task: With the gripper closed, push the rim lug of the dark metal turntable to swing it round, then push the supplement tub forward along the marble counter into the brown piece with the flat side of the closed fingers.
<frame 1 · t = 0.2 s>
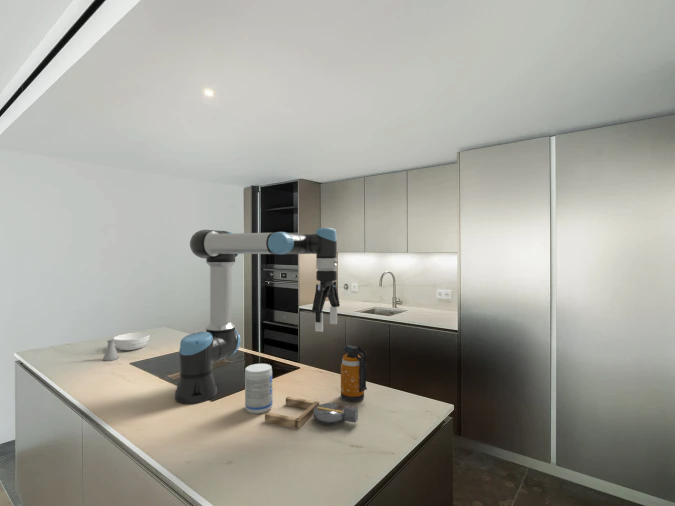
hand: (326, 327, 129), 28 cm above the counter, fingers open, 13 cm apart
canister: (354, 399, 133), on the counter
flask: (110, 359, 182), on the counter
turntable: (335, 411, 115), point 3 cm above the counter, hinge at 0.0°
brown piece: (290, 414, 120), on the counter
turntable base: (330, 420, 116), on the counter
bowl: (131, 349, 202), on the counter
supplement tub: (258, 409, 125), on the counter
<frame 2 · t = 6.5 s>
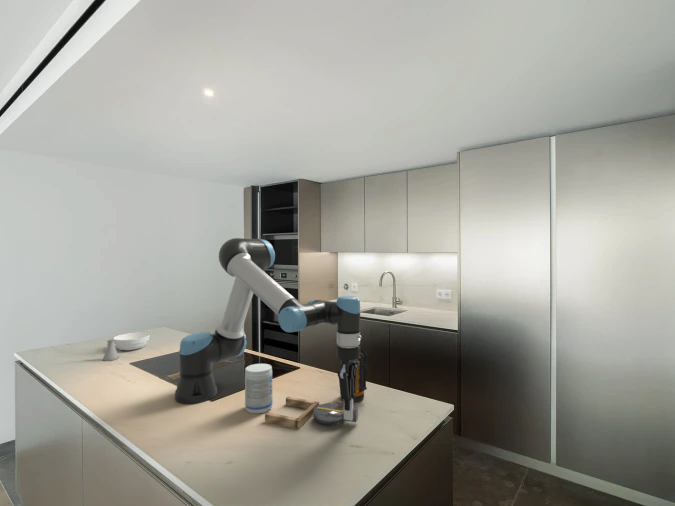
hand: (348, 418, 112), 2 cm above the counter, fingers closed
turntable: (335, 411, 115), point 3 cm above the counter, hinge at 2.2°, touching gripper
everything else where it was.
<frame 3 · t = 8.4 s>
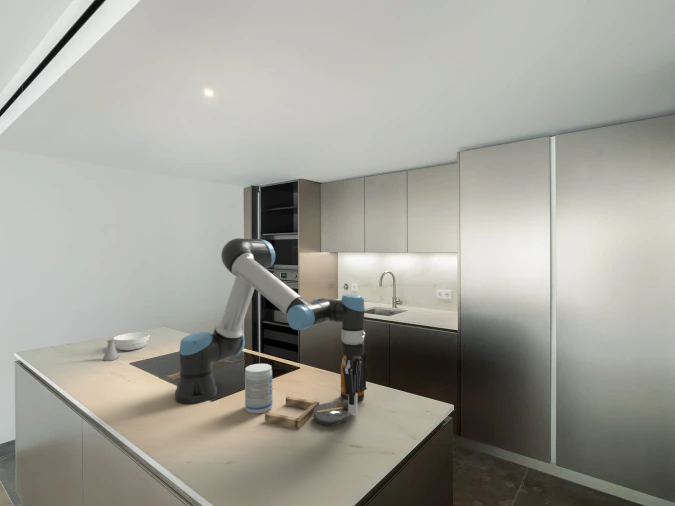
hand: (352, 412, 116), 2 cm above the counter, fingers closed
turntable: (335, 409, 117), point 3 cm above the counter, hinge at 42.6°, touching gripper
everything else where it was.
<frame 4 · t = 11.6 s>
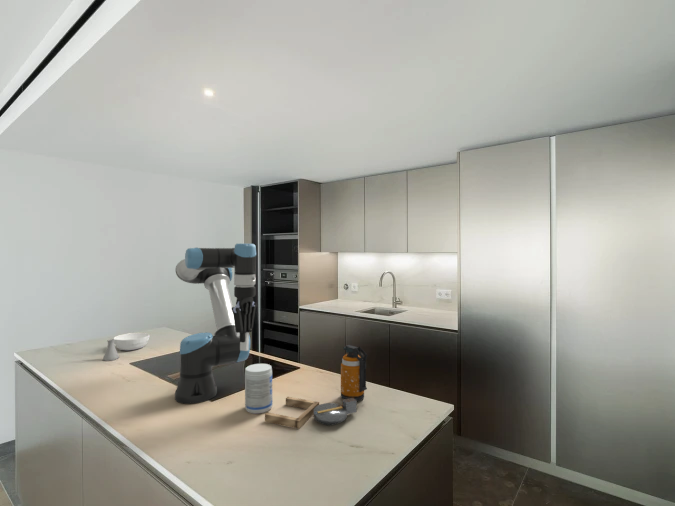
hand: (244, 350, 128), 20 cm above the counter, fingers closed
turntable: (335, 409, 117), point 3 cm above the counter, hinge at 47.7°
everything else where it was.
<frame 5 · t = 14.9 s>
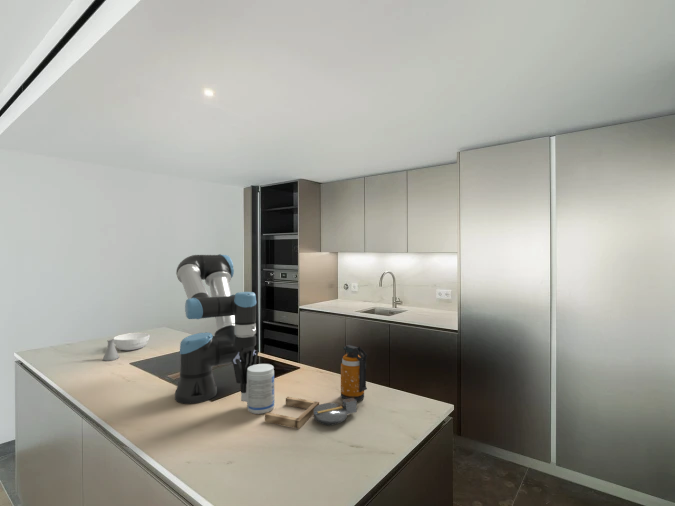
hand: (245, 400, 126), 2 cm above the counter, fingers closed
supplement tub: (260, 409, 124), on the counter, touching gripper
everything else where it was.
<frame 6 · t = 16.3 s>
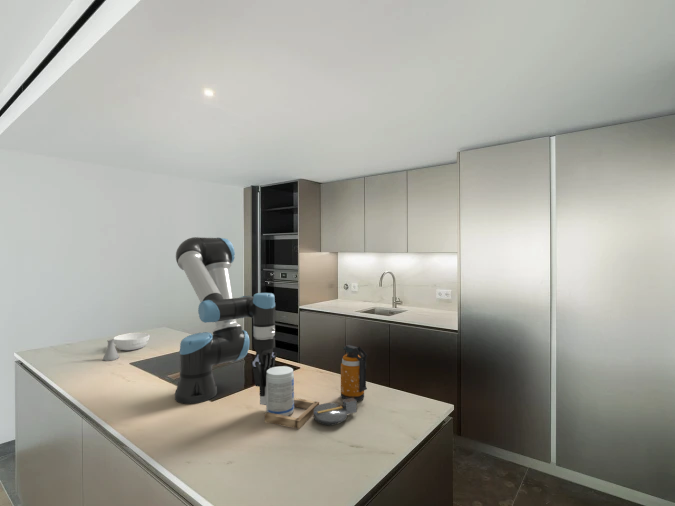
hand: (264, 403, 124), 2 cm above the counter, fingers closed
supplement tub: (280, 413, 122), on the counter, touching gripper
everything else where it was.
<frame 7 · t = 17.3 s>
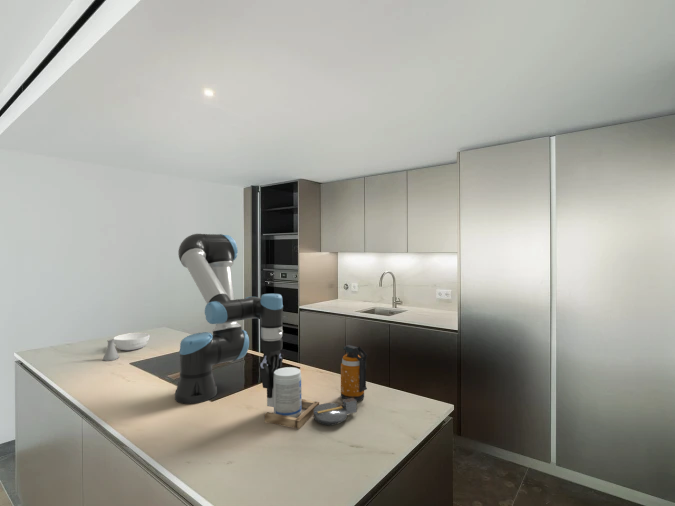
hand: (271, 405, 123), 2 cm above the counter, fingers closed
supplement tub: (287, 414, 121), on the counter, touching gripper
everything else where it was.
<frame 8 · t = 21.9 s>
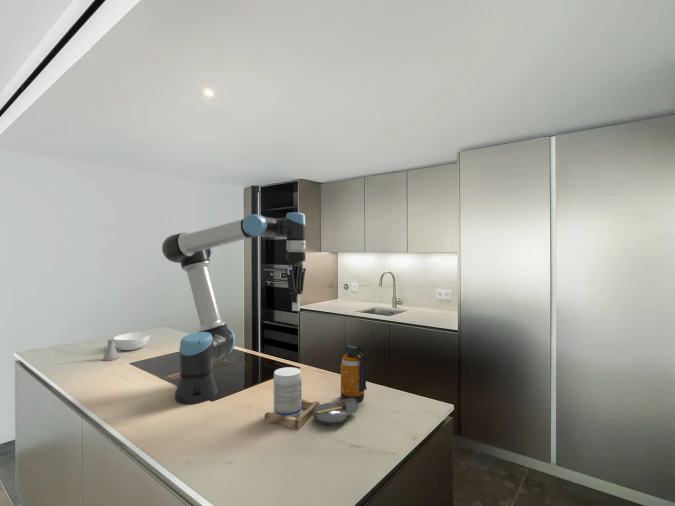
hand: (296, 310, 140), 32 cm above the counter, fingers closed
supplement tub: (287, 414, 121), on the counter
everything else where it was.
at the end: turntable at +48° (first picture: +0°); supplement tub inside the target area on the brown piece (0.2 cm from its centre), point 0.0 cm above the brown piece's base; supplement tub tilted 0° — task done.
